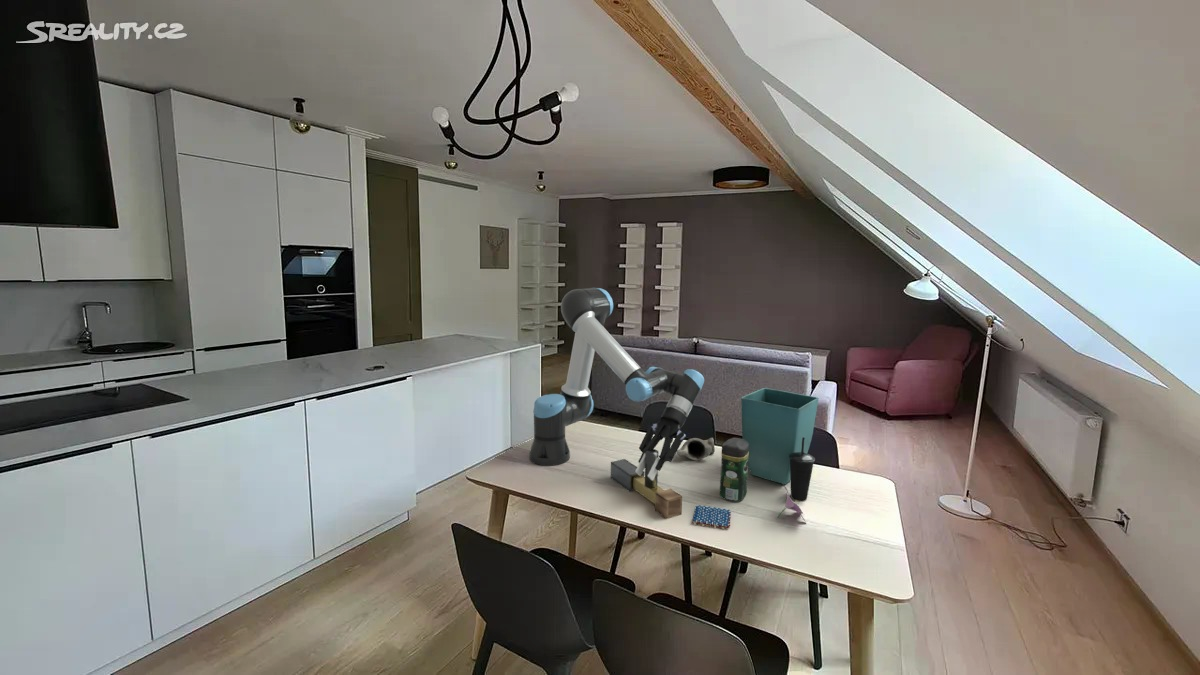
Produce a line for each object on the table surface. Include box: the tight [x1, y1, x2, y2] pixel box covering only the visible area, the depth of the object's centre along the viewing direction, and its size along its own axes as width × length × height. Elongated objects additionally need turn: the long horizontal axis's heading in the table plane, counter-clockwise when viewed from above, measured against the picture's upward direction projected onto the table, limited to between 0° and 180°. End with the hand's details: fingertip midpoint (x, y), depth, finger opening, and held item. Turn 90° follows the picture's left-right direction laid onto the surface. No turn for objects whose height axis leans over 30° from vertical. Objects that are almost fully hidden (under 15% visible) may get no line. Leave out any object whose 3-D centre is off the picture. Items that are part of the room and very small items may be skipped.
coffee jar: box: [719, 437, 749, 502], centre depth 163 cm, size 10×8×19 cm
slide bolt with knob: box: [631, 448, 665, 505], centre depth 163 cm, size 23×4×15 cm, turn 30°
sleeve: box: [610, 458, 645, 493], centre depth 172 cm, size 12×6×6 cm, turn 30°
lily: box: [777, 482, 806, 522], centre depth 151 cm, size 12×12×10 cm
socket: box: [654, 488, 683, 520], centre depth 153 cm, size 6×6×6 cm
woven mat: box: [691, 504, 732, 531], centre depth 150 cm, size 10×11×2 cm
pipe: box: [676, 437, 715, 462], centre depth 196 cm, size 16×9×15 cm
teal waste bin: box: [740, 387, 819, 485], centre depth 179 cm, size 20×20×28 cm
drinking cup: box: [789, 437, 816, 502], centre depth 163 cm, size 8×8×20 cm
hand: (644, 475), depth 157 cm, fingers closed on slide bolt with knob, 4 cm apart
